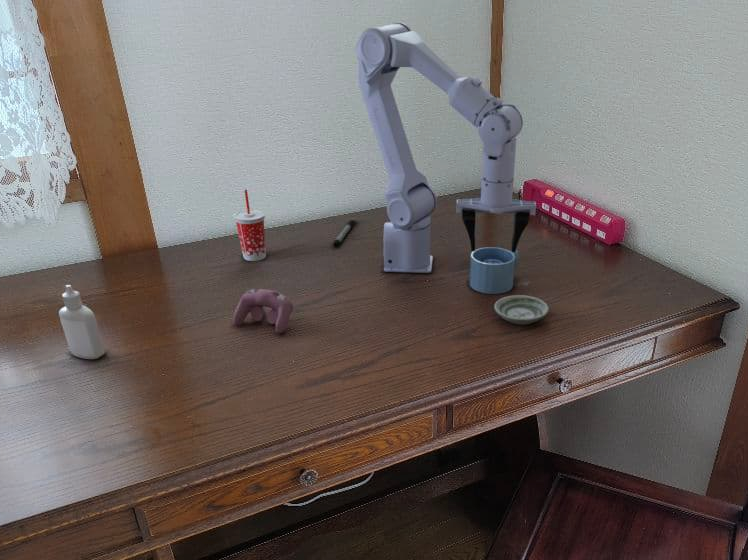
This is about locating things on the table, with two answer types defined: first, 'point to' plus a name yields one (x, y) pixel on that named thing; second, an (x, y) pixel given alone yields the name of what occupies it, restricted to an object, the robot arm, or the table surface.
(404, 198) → the robot arm
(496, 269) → the mug
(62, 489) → the table surface
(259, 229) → the beverage cup
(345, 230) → the pen
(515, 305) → the saucer
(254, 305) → the video game controller
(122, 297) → the table surface
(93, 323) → the eye dropper bottle
